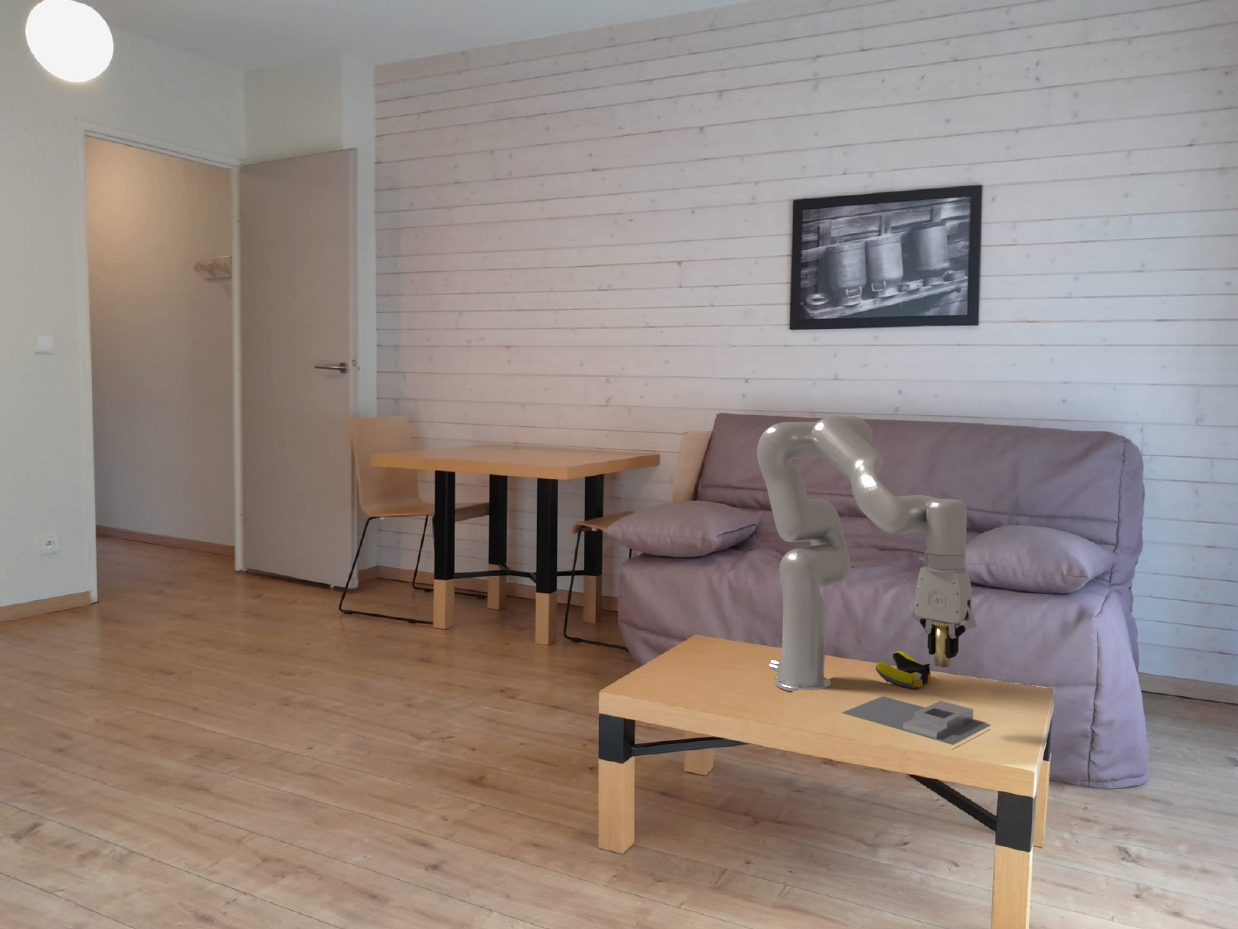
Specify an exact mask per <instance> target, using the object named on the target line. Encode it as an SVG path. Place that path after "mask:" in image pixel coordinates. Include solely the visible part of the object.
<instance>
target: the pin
mask: <svg viewBox="0 0 1238 929" xmlns="http://www.w3.org/2000/svg"><path fill="white" fill-rule="evenodd" d="M932 624H933V625H935V654H934V655H933V656H934V663H933V664H934V665H933V666H935V667H938V668H950V667H951V659H952V658H947V657H946V639H947V638H949V623H946V622H940V621H934V620H932Z"/></svg>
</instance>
